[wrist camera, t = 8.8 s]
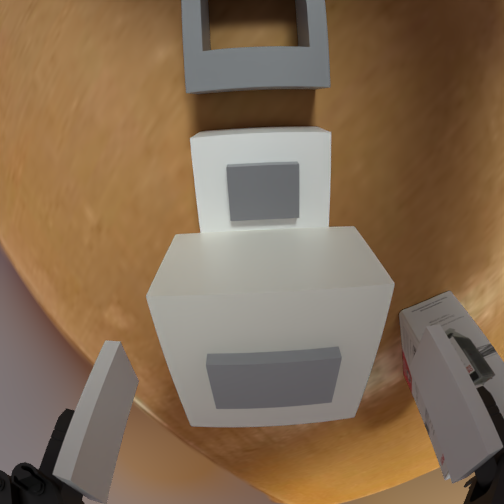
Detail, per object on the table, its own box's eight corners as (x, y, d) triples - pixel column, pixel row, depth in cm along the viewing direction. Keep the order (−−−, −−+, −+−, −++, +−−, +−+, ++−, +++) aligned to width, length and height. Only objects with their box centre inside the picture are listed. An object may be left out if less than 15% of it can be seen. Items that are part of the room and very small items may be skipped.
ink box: (446, 355, 24) (496, 454, 13) (401, 374, 24) (442, 483, 14) (451, 286, 20) (533, 401, 9) (397, 309, 21) (464, 444, 10)
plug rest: (191, -36, 10) (180, -58, 8) (305, -40, 10) (316, -63, 8) (197, 94, 14) (186, 93, 11) (315, 89, 14) (330, 87, 11)
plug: (185, 215, 17) (141, 306, 9) (340, 208, 16) (401, 293, 9) (205, 332, 21) (189, 435, 13) (329, 326, 20) (356, 426, 13)
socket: (200, 131, 15) (187, 139, 12) (316, 126, 15) (334, 133, 12) (230, 373, 23) (228, 410, 20) (305, 370, 23) (311, 405, 20)
